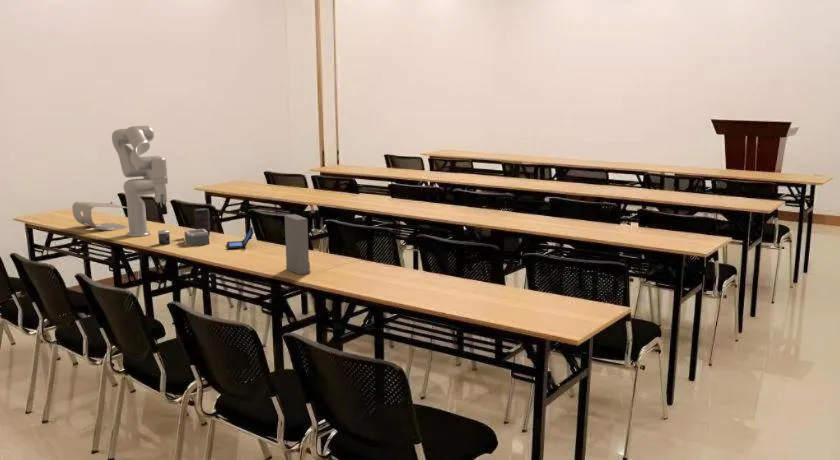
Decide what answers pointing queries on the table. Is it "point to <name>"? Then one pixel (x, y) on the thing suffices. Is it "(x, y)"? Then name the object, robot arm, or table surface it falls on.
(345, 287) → the table surface
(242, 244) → the game console
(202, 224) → the camera lens
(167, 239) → the ringed metal cylinder
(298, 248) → the tall grey upright pillar
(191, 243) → the camera body block
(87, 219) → the portable electronic device stand
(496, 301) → the table surface
